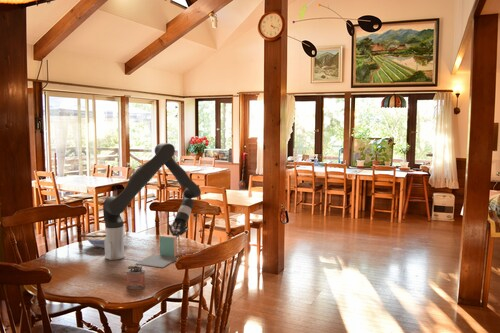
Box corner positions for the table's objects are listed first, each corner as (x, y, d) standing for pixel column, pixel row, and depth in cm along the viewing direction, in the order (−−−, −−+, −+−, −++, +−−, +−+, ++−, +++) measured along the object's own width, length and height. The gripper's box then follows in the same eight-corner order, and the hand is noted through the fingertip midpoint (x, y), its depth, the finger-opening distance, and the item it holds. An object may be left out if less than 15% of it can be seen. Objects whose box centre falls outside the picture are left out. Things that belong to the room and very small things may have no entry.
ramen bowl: (134, 241, 249) (134, 228, 248) (118, 253, 226) (118, 238, 226) (95, 240, 252) (95, 227, 251) (76, 251, 229) (75, 237, 228)
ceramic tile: (173, 257, 220) (173, 237, 219) (159, 255, 223) (159, 236, 222) (177, 255, 223) (176, 235, 222) (162, 253, 226) (162, 234, 225)
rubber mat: (162, 268, 203) (162, 267, 203) (135, 264, 208) (135, 263, 208) (178, 258, 218) (178, 257, 218) (153, 255, 223) (153, 254, 223)
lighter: (145, 285, 181) (145, 264, 180) (144, 288, 177) (143, 266, 176) (127, 285, 180) (127, 264, 179) (125, 288, 177) (125, 266, 176)
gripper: (171, 210, 237) (160, 236, 227) (191, 212, 233) (181, 238, 222) (175, 217, 243) (165, 242, 232) (195, 219, 238) (185, 245, 228)
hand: (173, 240), depth 227 cm, fingers closed
